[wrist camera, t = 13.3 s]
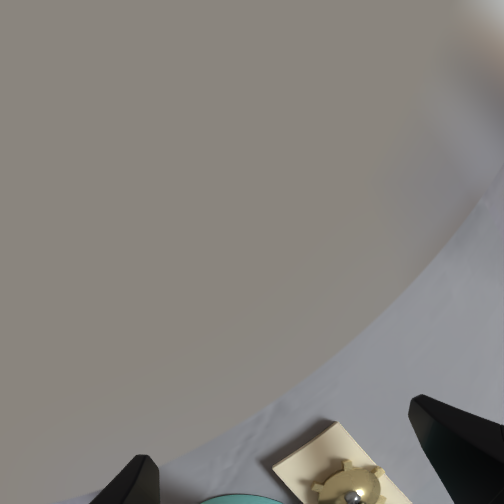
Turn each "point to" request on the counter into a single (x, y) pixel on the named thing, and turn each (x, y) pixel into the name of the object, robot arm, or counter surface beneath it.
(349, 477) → the brass gears
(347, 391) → the counter surface
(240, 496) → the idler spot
